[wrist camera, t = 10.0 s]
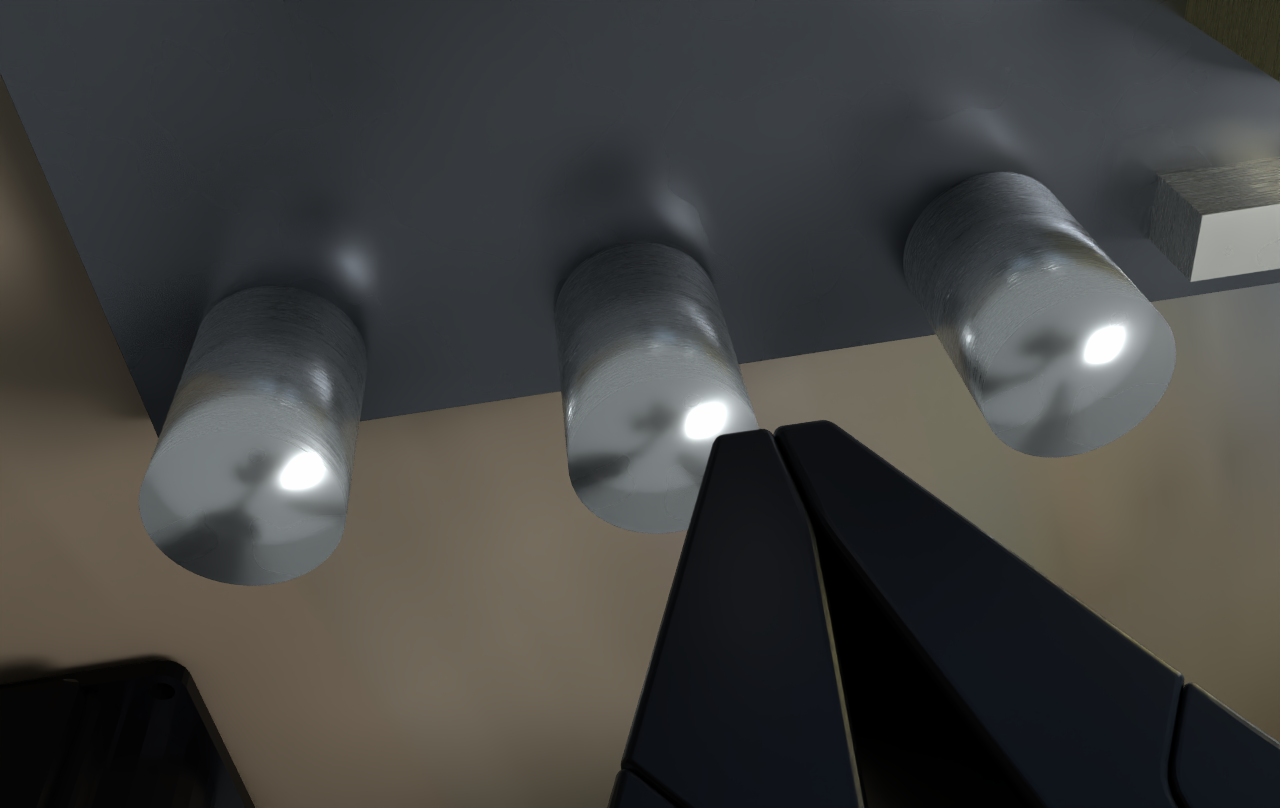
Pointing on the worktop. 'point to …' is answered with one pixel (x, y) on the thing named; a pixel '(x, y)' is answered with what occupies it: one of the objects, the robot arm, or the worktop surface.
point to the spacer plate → (622, 222)
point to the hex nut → (1242, 28)
